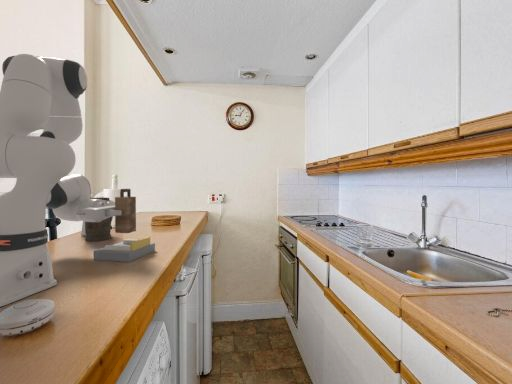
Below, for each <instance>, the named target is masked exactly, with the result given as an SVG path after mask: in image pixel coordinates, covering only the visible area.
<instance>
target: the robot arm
mask: <svg viewBox="0 0 512 384" xmlns="http://www.w3.org/2000/svg"><path fill="white" fill-rule="evenodd" d="M2 74H3V77H2V82H1V86H0V179H16V181H15V185H14V187H13V188H12V189H11V190H10V191H7V192H5V193H2V194H1V195H0V308H1V307H3V306H6V305H9V304H11V303H14V302H17V301H19V300H22V299H25V298H27V297H29V296H31V295H35V294H37V293H39V292H42V291H44V290H47V289H50V288H52V287H54V286H57V285H58V282H57V281H58V280H57V279H55V278H54V270H53V264H52V257H51V253H50V251H49V249H48V246H47V243H48V242H49V233H48V229H47V228H46V213H47V209H51V210H52V212H53V215H54V216H55V217H57V218H58V219H60V220H63V221H69V222H81V221H82V222H83V221H85V222H101V221H103V220H105V219H107V218H109V217H113V218H114V217H115V215H123V210H115V200H112V201H105V200H101V199H91V198H92V191H91V184H90V182H89V180H88V179H87V178H86V177H85V176H84V175H83V174H80V173H74V174H70V173H71V172H72V171H73V169H74V168H75V165H76V161H77V159H76V153H75V151H74V149H73V148H72V146H71V145H70V144H72V143H73V142H76V141H77V140H78V139H79V138H80V136H81V135H82V132H83V118H82V112H81V107H80V102H79V98H80V96H81V95H83V94H84V92H85V91H86V90H87V88H88V87H87V86H88V78H87V74H86V71H85V69H84V66H83V65H82V64H80V63H79V62H78V61H75V60H71V59H69V58H68V59H67V58H66V59H63V58H62V59H61V58H56V57H49V56H48V57H46V56H41V55H33V54H29V53H20V54H16V55H10V56H8V57H7V58H6V59H4V61H3V63H2ZM42 129H43V130H42ZM39 130H42V133H40V135H39V136H37V135H36V136H33V135H30V134H32V133H34V132H36V131H39Z"/></svg>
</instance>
